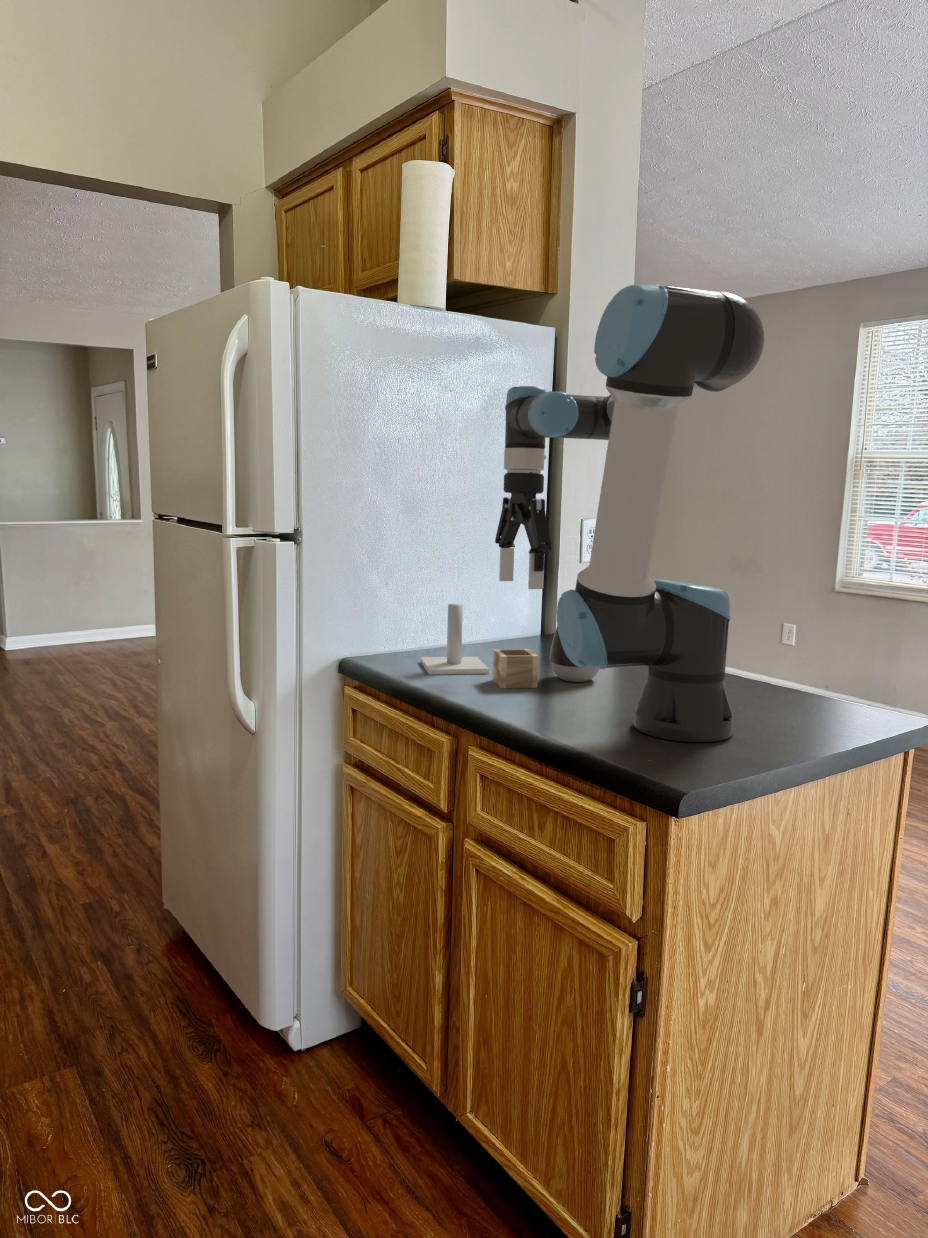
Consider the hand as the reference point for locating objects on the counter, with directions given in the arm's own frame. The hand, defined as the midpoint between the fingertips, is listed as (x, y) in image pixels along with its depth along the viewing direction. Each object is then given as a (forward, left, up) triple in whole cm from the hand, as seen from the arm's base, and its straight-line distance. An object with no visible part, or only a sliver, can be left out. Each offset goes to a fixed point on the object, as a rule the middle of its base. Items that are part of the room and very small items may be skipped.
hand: (520, 585), depth 168 cm
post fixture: (+11, +10, -18) cm, 24 cm away
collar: (-4, +1, -18) cm, 19 cm away
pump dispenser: (-1, -12, -19) cm, 22 cm away
